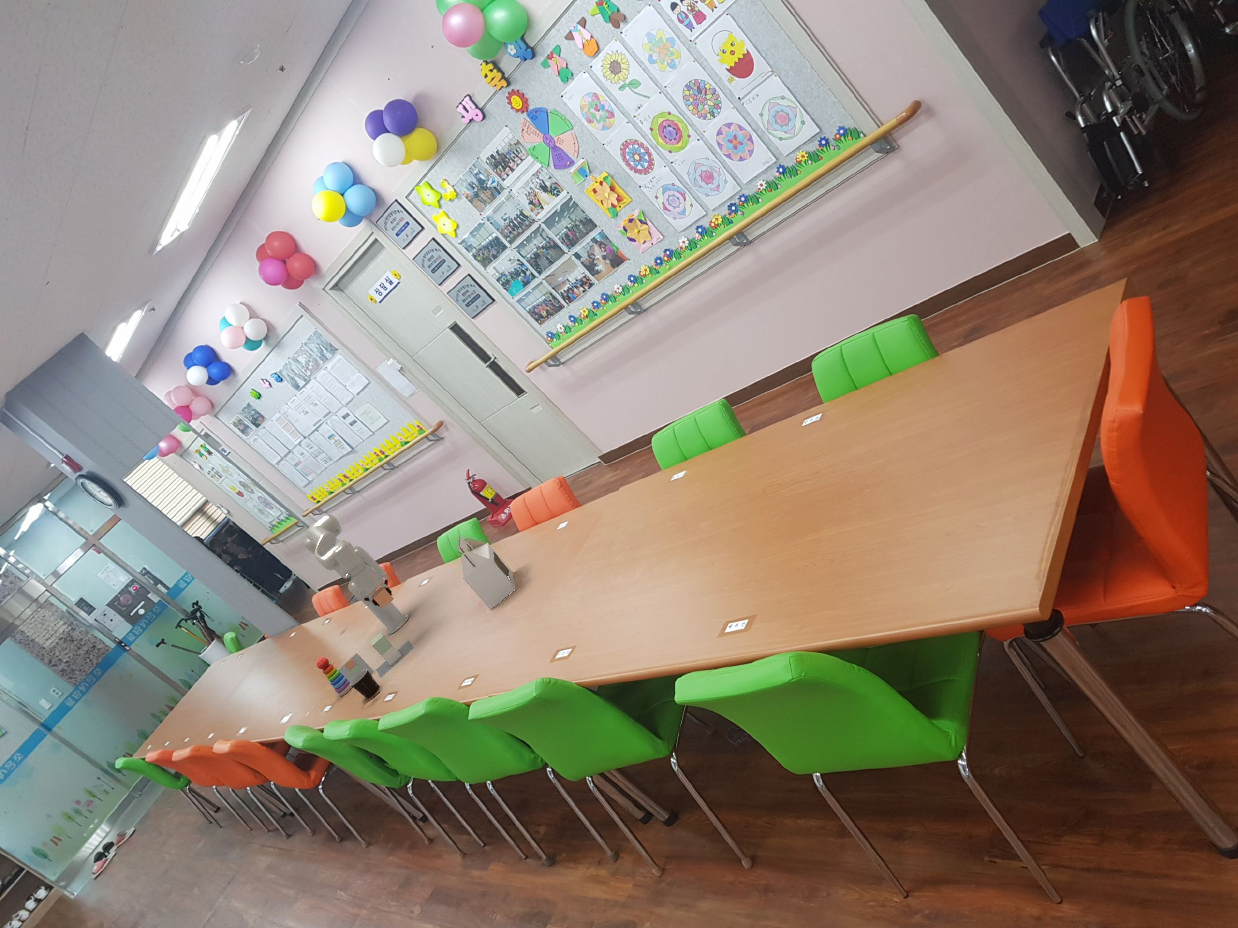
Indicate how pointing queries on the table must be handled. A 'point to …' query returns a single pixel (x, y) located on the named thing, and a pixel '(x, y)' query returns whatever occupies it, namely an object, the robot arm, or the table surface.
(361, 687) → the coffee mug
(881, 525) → the table surface
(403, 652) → the build plate
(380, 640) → the sage green block
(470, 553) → the gable box
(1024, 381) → the table surface
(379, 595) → the terracotta block
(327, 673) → the stacking toy
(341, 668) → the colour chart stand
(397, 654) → the off-white base block
